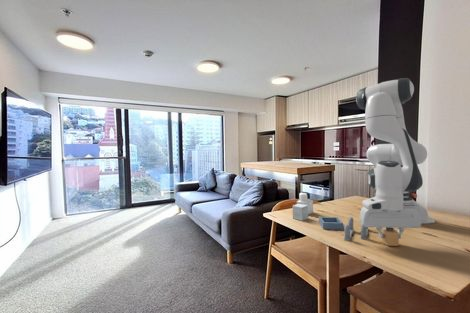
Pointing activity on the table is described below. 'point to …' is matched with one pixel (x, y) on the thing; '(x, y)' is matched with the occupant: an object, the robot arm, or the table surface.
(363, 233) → the clip
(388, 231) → the block with round knob
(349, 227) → the clip
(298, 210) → the product box
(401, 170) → the robot arm
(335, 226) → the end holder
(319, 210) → the table surface
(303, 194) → the medicine bottle
